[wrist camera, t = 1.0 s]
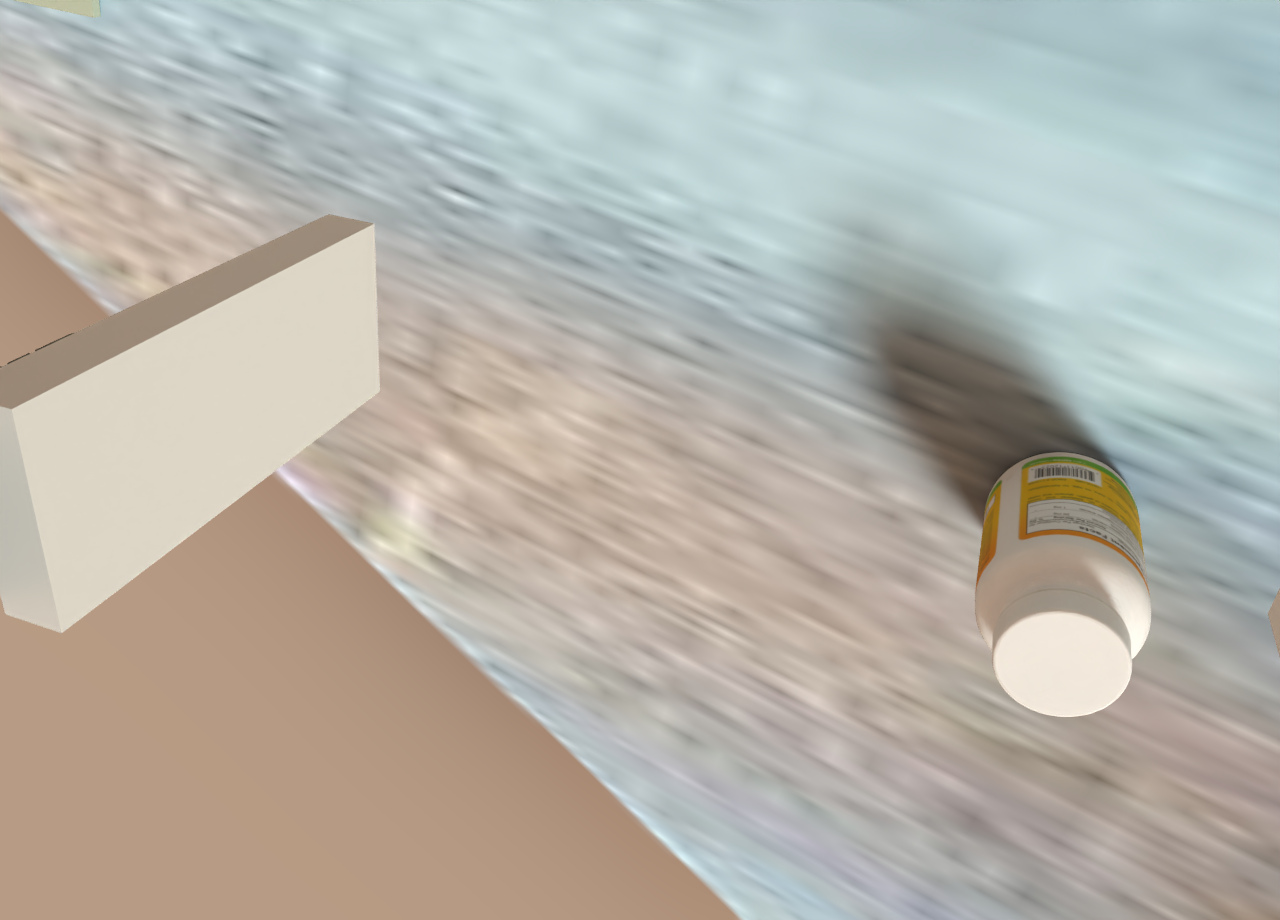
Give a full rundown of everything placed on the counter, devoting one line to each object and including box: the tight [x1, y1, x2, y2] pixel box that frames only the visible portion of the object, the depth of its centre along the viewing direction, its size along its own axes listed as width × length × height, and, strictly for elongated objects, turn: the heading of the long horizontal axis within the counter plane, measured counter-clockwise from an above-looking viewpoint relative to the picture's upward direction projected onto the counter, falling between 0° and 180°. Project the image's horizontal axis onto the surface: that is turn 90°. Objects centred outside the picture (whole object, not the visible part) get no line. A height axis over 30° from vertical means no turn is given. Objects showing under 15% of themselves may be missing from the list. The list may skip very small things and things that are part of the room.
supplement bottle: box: [975, 452, 1151, 717], centre depth 37 cm, size 5×5×10 cm
